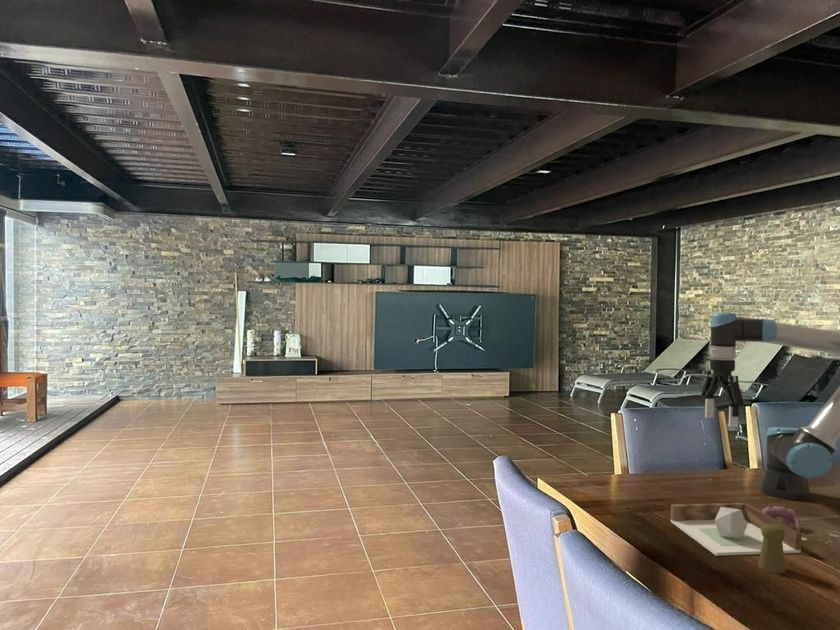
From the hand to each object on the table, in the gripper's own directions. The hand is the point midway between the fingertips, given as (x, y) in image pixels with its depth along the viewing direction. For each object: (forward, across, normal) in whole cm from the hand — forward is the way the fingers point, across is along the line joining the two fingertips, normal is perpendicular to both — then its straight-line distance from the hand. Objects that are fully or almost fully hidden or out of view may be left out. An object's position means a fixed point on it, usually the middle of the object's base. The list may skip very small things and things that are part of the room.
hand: (720, 421), depth 203 cm
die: (+26, +31, -16) cm, 44 cm away
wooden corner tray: (+27, +29, -14) cm, 42 cm away
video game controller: (+27, +23, +5) cm, 36 cm away
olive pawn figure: (+27, +49, -16) cm, 58 cm away
